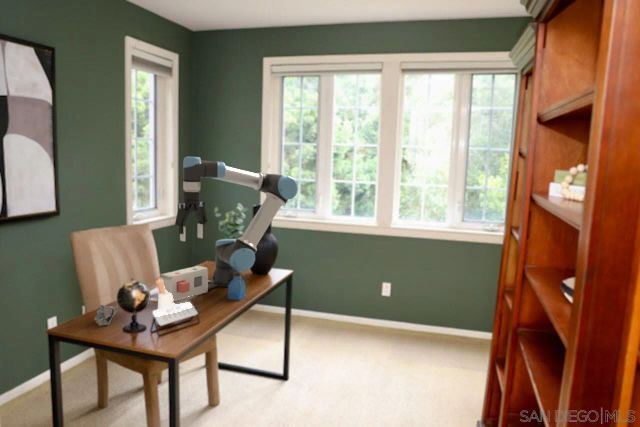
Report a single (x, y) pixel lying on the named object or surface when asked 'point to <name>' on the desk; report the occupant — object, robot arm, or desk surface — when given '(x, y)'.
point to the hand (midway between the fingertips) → (191, 239)
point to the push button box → (187, 276)
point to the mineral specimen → (105, 314)
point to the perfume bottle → (236, 287)
